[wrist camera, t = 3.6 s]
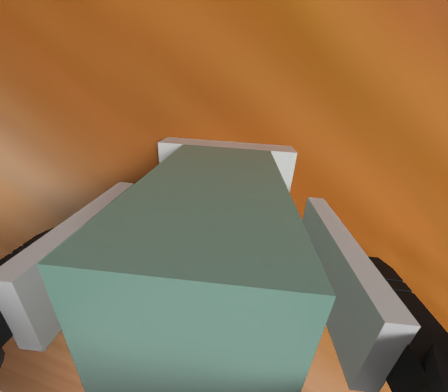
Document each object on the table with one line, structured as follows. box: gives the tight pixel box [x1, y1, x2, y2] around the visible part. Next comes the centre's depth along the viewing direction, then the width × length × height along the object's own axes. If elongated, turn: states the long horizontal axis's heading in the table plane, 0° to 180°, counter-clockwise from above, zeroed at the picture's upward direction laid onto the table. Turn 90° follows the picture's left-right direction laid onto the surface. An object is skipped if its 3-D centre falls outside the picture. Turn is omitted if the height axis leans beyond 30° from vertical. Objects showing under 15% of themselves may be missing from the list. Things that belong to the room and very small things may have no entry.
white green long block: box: [37, 137, 336, 392], centre depth 15 cm, size 8×26×12 cm, turn 177°
